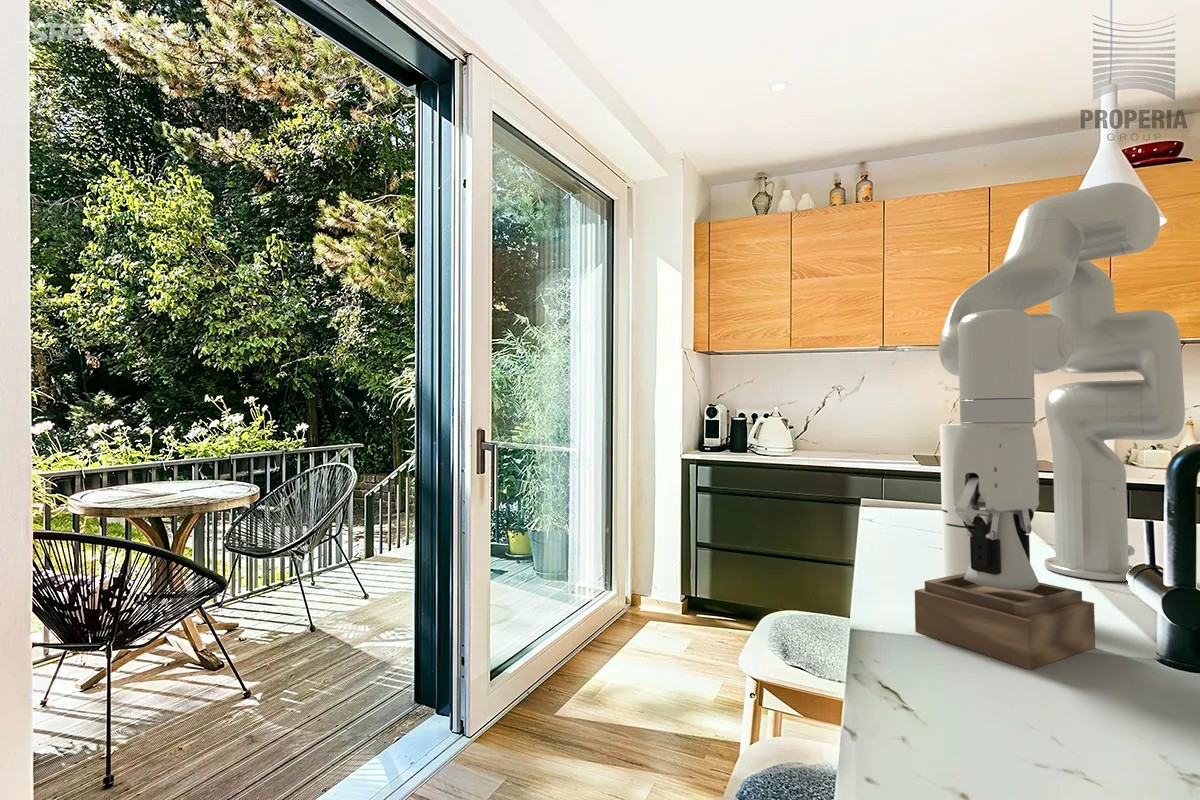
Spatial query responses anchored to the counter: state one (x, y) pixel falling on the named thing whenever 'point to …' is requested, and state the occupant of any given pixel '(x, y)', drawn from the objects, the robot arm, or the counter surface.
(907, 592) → the counter surface
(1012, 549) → the flask
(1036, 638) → the tray
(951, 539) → the cylindrical container
